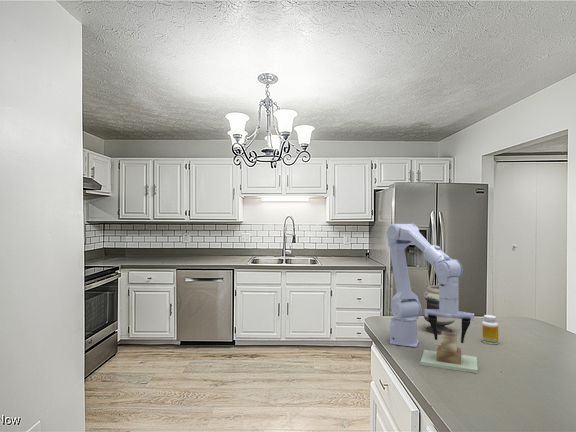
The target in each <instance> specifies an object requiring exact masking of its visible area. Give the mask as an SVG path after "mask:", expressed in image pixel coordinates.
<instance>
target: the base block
mask: <svg viewBox="0 0 576 432" xmlns="http://www.w3.org/2000/svg"><path fill="white" fill-rule="evenodd" d="M436 351H437V361H439V362H446V363H452V364H459V365H461V355H462V347H457V353H452V352H445V351H441V344H440V345H439V344H438V345H437V348H436Z"/></svg>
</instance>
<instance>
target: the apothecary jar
mask: <svg viewBox="0 0 576 432" xmlns="http://www.w3.org/2000/svg"><path fill="white" fill-rule="evenodd" d="M423 298H424V299H425V300H426V309H439V284H438V285H437V284H436V285H434V284H433V285H429V286H428V287H427V291H425V292H424V293H423ZM423 318H424V320H425V321H426V322H428V323H429V320H428V316H425V312H424V313H423ZM455 321H456V319H455V318H445V317H437V335H441V332H442V331H443V332H452V333H453V330H452V329H451V328H449V327H448V326H449V325H451V324H453V323H454V322H455ZM426 331H427V332H429V333H432V334H434V333H433V329H432V327H431V325H430V326H427V327H426Z"/></svg>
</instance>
